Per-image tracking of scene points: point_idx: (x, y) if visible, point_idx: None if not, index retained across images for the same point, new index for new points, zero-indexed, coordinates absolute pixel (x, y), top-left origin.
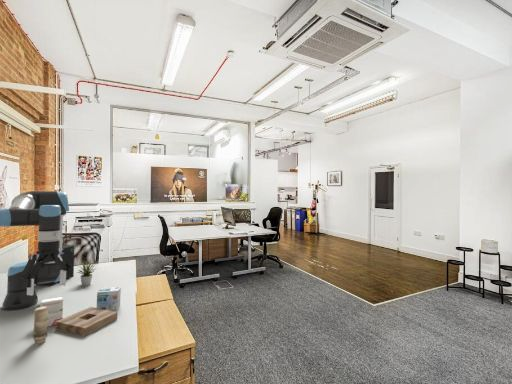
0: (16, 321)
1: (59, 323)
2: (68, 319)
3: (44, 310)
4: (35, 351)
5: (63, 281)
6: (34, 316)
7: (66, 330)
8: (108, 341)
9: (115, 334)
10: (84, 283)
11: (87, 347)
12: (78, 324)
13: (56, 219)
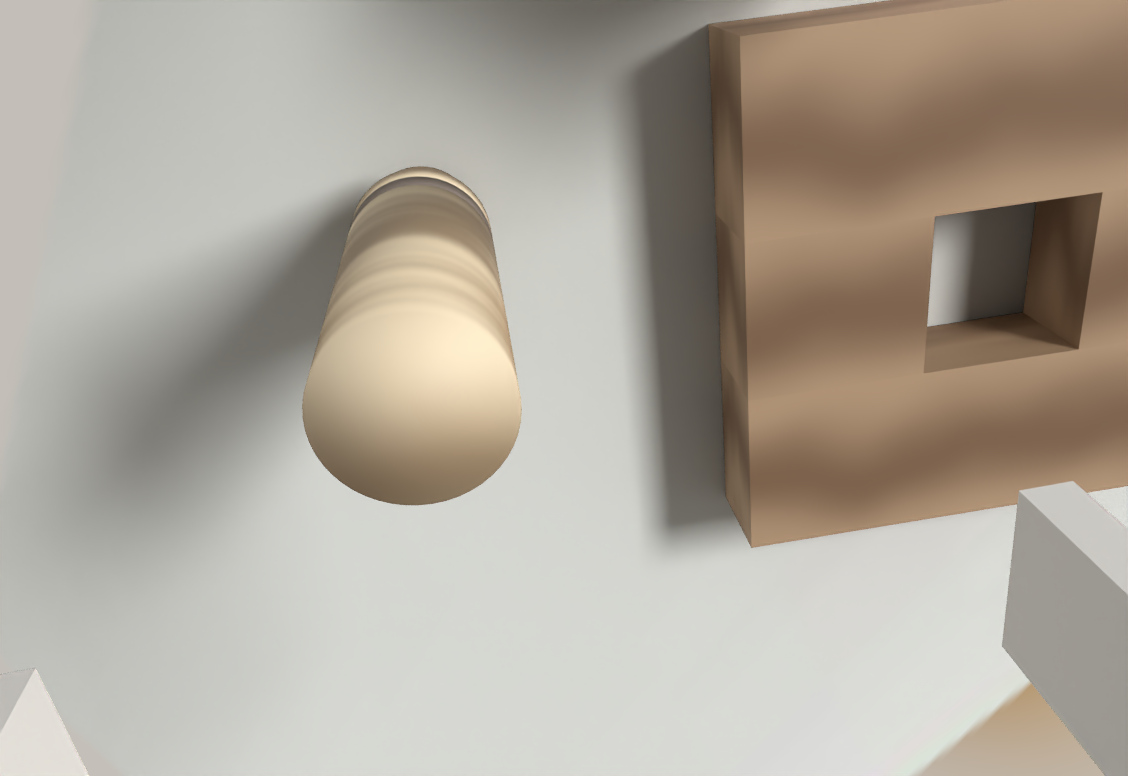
0: None
1: (736, 117)
2: (856, 136)
3: (423, 495)
4: (300, 391)
5: (1082, 709)
6: (321, 330)
7: (720, 236)
8: (737, 733)
9: (854, 683)
10: None
11: (593, 690)
12: (790, 405)
13: None
